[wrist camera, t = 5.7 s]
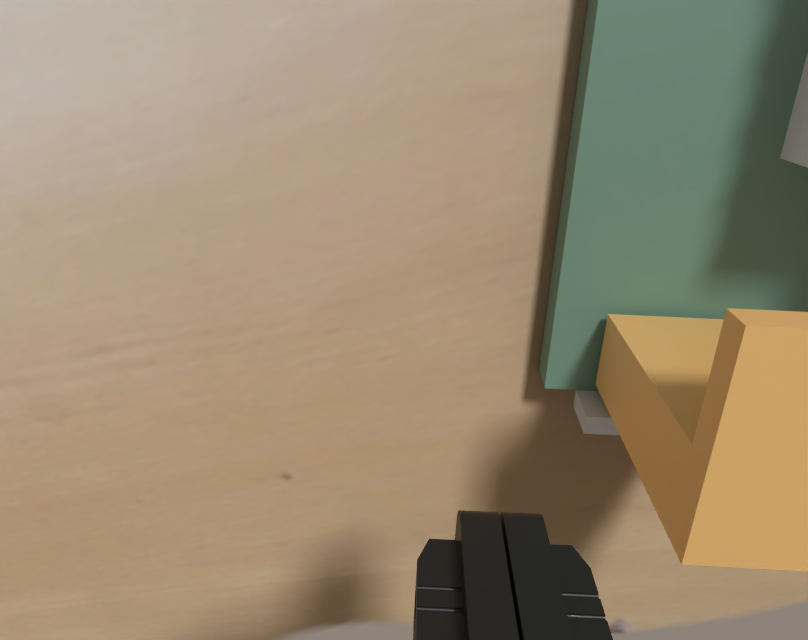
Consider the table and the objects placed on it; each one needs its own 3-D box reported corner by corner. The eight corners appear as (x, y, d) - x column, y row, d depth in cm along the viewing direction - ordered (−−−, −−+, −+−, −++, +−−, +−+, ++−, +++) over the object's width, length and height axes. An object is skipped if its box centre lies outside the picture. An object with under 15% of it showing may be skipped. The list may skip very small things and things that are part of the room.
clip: (768, 221, 18) (980, 336, 11) (724, 390, 20) (877, 575, 13) (625, 215, 18) (745, 325, 11) (595, 384, 20) (681, 564, 13)
